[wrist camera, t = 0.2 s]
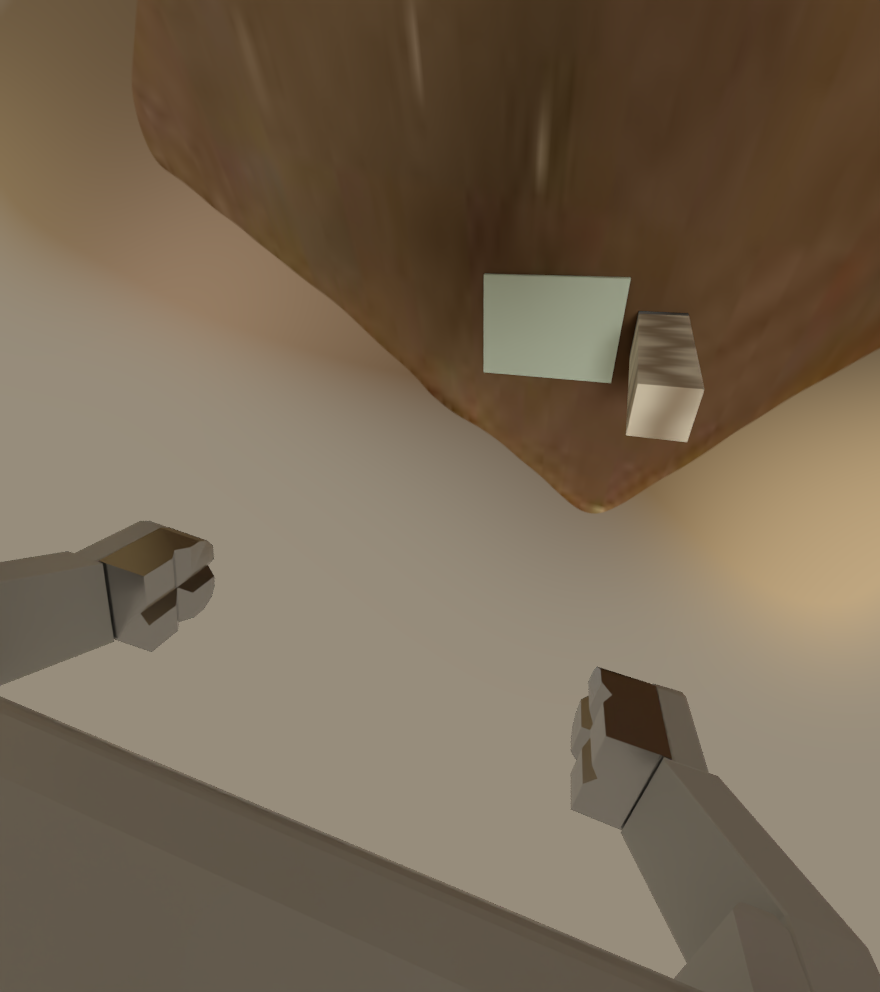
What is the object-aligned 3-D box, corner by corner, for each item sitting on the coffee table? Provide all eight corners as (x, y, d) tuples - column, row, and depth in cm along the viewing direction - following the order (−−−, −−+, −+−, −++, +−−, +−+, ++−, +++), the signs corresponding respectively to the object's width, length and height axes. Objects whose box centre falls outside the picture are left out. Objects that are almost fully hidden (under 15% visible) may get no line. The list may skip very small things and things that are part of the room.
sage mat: (630, 277, 50) (630, 278, 49) (611, 381, 57) (611, 383, 57) (484, 273, 54) (483, 274, 54) (484, 370, 62) (483, 372, 62)
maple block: (688, 313, 50) (704, 389, 37) (676, 357, 53) (686, 442, 40) (638, 311, 52) (637, 383, 39) (629, 354, 55) (625, 435, 42)
